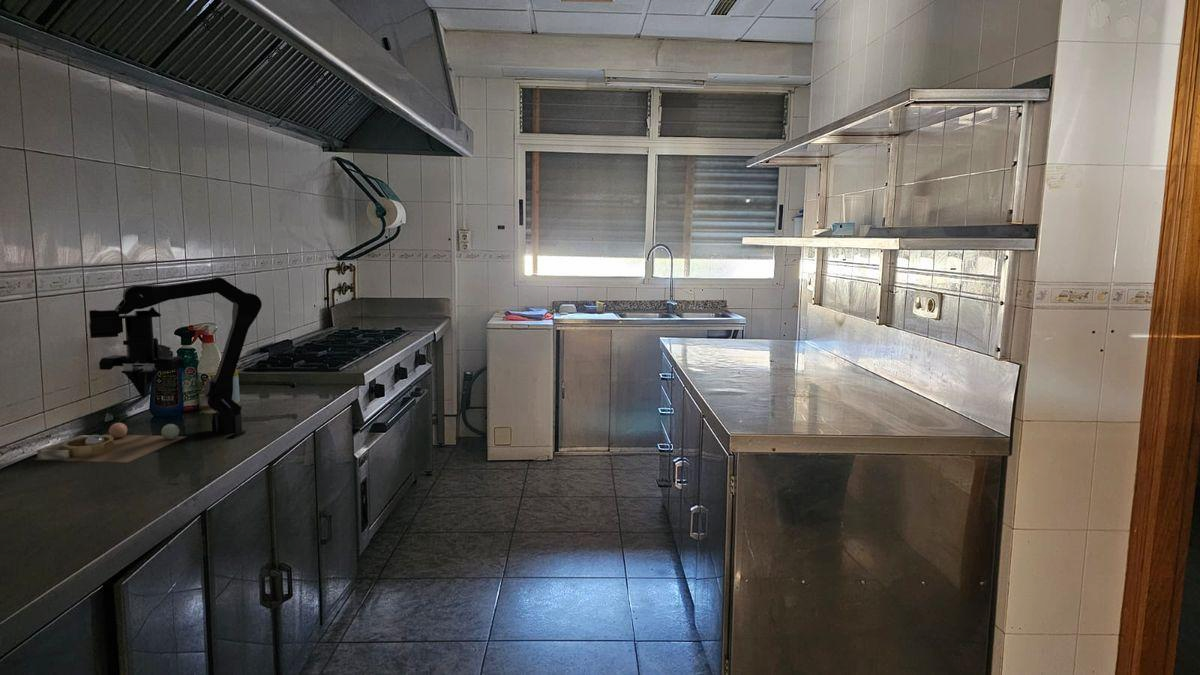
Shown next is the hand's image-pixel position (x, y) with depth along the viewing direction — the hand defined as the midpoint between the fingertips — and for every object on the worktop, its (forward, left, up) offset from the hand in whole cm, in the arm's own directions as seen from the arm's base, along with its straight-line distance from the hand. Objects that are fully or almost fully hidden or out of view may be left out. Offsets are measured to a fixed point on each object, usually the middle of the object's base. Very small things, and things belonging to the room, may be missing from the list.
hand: (144, 396), depth 184 cm
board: (+5, +5, -13) cm, 15 cm away
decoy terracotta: (+10, -3, -10) cm, 14 cm away
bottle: (+6, -46, -13) cm, 48 cm away
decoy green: (-4, -3, -10) cm, 11 cm away
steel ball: (+7, +8, -10) cm, 15 cm away
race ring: (+9, +9, -12) cm, 17 cm away
